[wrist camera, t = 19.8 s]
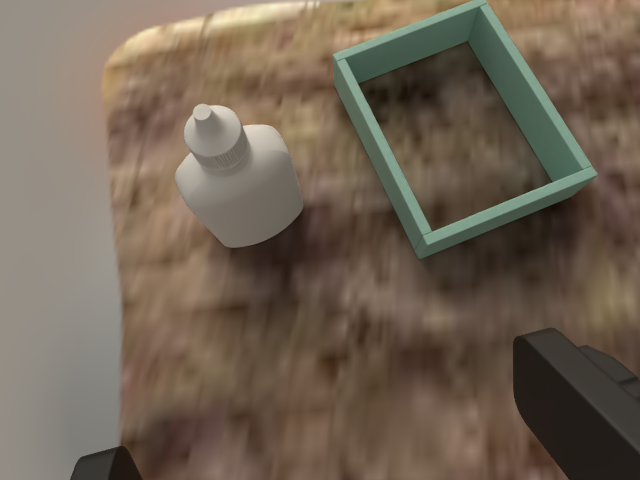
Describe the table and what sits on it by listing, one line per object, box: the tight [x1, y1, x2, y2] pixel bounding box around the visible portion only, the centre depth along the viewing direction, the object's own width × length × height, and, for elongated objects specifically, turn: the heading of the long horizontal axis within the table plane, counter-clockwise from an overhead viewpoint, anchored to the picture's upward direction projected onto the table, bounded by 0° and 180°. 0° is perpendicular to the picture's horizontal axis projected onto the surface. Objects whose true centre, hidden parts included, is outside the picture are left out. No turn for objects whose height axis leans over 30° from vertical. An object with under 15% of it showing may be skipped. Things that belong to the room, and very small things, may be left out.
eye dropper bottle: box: [175, 104, 304, 248], centre depth 24 cm, size 4×6×12 cm
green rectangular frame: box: [333, 0, 598, 259], centre depth 28 cm, size 13×10×3 cm
